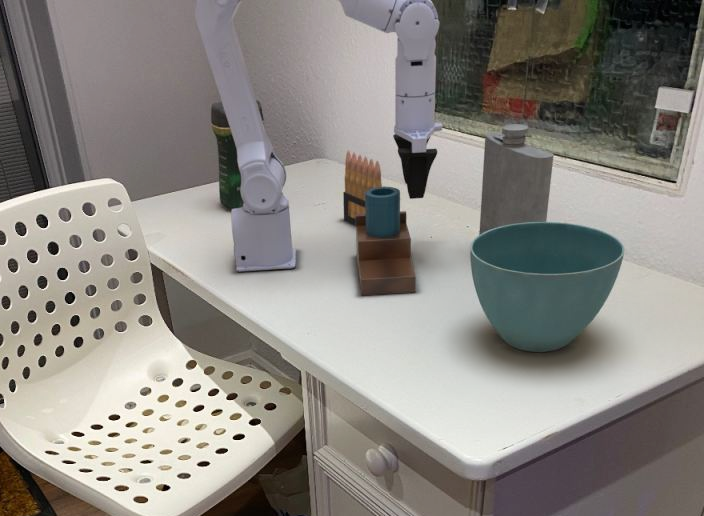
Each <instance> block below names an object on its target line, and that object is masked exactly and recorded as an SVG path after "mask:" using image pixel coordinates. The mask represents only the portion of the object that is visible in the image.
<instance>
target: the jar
mask: <svg viewBox="0 0 704 516" xmlns="http://www.w3.org/2000/svg"><path fill="white" fill-rule="evenodd" d="M365 210H366V233H367V234H368V235H369V236H372V237H391V236H394V235H397V234H398V233H399V232H400V212H401V191H400V189H399V188H396V187H393V186H382V187H376V188H372V189H369V190H367V191H366V192H365Z"/></svg>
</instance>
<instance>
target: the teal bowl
mask: <svg viewBox="0 0 704 516" xmlns="http://www.w3.org/2000/svg"><path fill="white" fill-rule="evenodd" d="M624 255H625V246H624V244H623V242H622V241H620V240H619V238H617V236H614V235H612V234H611V233H609V232H606V231H604V230H601V229H597V228H595V227H590V226H586V225H582V224H575V223H570V222H560V221H558V222H557V221H546V222H527V223H518V224H511V225H505V226H501V227H497V228H494V229H491V230H488V231H486V232H484V233H482V234H480V235H477V236H475V238H474V239H473V240H472V241H471V243H470V249H469V257H470V259H469V260H470V268H471V269H470V270H471V275H472V280H473V286H474V290H475V293H476V295H477V296H476V297H477V299H478V301H479V304H480V306H481V309H482V310H483V313H484V314H485V316H486V318H487V320H488V321H489V323H490V325H491V326H492V328H493V329H494V330H495V331H496V333H497V334H498V335H499V336H500V338H501V339H503V341H504V342H505V343H507V344H508V345H509V346H510V347H512V348H514V349H517V350H520V351H525V352H531V353H533V352H535V353H545V352H546V353H547V352H552V351H556V350H559V349H562V348H563V347H566V345H567V346H568V344H570V343H571V342H572V341H573V340H574V339H575V338H577V337H578V336H579V335H580V334H581V333H582V332H583V331H584V330H585V329H586V328H588V326H589V325H590V324H591V323H592V322H593V320H594V319H595V318H596V317H597V315H598V314H599V312H600V311H601V310H602V308H603V306H604V305H605V303H606V301H607V300H608V298H609V296H610V294H611V292H612V290H613V288H614V285H615V283H616V281H617V278H618V277H619V274H620V273H619V272H620V270H621V268H622V263H623V260H624V259H623V258H624Z"/></svg>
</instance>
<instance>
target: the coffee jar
mask: <svg viewBox="0 0 704 516" xmlns="http://www.w3.org/2000/svg"><path fill="white" fill-rule="evenodd" d="M256 102H257V105H258V108H259V112H260V115H261V119H262V122H263V125H264V126H265V119H264V113H263V107H262V103H261V102H260V101H259V100H257V99H256ZM210 126H211V130H212V132H213V134H214V136H215V139H216V145H217V156H218V190H219V191H218V192H219V202H220V204H221V205H222V206H223V208H224V209H227V210H232V209H234V208H241V207H243V204H244V201H243V199H242V197H241V192H240V187H241V173H240V170H239V166H238V156H237V148H236V145H235V142H234V138H233V135H232V132H231V129H230V126H229V123H228V120H227V116H226V113H225V110H224V107H223V104H222V101H220V102H214V103H212V104H211V108H210Z"/></svg>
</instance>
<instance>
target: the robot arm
mask: <svg viewBox="0 0 704 516" xmlns="http://www.w3.org/2000/svg"><path fill="white" fill-rule="evenodd" d="M242 1H243V0H197V1H196V7H195V13H194V16H195V22H196V25H197V27H198V31H199V34H200V39H201V41H202V44H203V47H204V50H205V54H206V56H207V60H208V63H209V66H210V69H211V73H212V76H213V79H214V82H215V85H216V88H217V91H218V94H219V97H220V102H222V104H223V107H224V110H225V113H226V116H227V120H228V123H229V126H230V129H231V132H232V135H233V138H234V142H235V145H236V148H237V156H238V166H239V170H240V173H241V187H240V192H241V197H242V199H243V201H244V204H243V207H241V208H234V209H231V212H230V220H231V235H232V242H233V255H234V257H235V265H236V272H255V271H269V270H285V269H294V268H295V269H296V261H297V258H296V257H297V249H296V247H293V239H292V227H291V215H290V214H291V213H290V202H289V199H288V198H286V196H285V194H284V193H283V188H284V186H285V183H286V181H287V170H286V167H285V165H284V164H283V162H282V161H281V160H280V159H279V158H278V156H277V155H276V153H275V151H274V147H273V144H272V142H271V140H270V139H269V137H268V135H267V132H266V130H265V124H264V125H263V122H262V119H261V115H260V112H259V108H258V105H257V102H256V100H257V99H256V94H255V92H254V88H253V85H252V82H251V81H252V80H251V78H250V74H249V71H248V68H247V64H246V61H245V58H244V55H243V51H242V47H241V44H240V41H239V37H238V33H237V31H236V26H235V24H234V18H235V15H236V14H237V11H238V9H239V7H240V6H241V3H242ZM337 1H339V3H340V5H341V7H342V10H343V13H344V15H345V17H348V18H351V19H353V20H355V21H357V22H360V23H362V24H364V25H367V26H369V27H371V28H373V29H376V30H378V31H380V32H382V33H385V34H390V33H395V34H396V36H397V38H396V39H397V41H396V43H397V51H396V53H397V55H396V57H395V62H394V63H395V69H394V70H395V77H394V78H395V94H394V95H395V101H394V103H395V107H394V108H395V114H394V115H395V119H394V121H395V122H394V123H395V125H394V126H393V133H394V134H393V135H392V137H393V140H394V141H395V144H396V146H397V154H398V157H399V158H400V163H401V169H402V175H403V180H404V183H405V185H406V188H407V194H408V197H409V199H410V200H416V199H423V198H424V197H425V193H426V189H427V184H428V179H429V175H430V171H431V169H432V165H433V164H434V161H435V159H436V157H437V155H438V149H437V148H427V147H428V142H429V141H430V139H431V137H432V135H434V133H435V132H440V131H443V124H442V123H441V122H435V112H436V111H435V109H436V82H437V81H436V80H437V79H436V76H437V56H436V54H435V53H436V52H435V51H436V48H437V41H436V36H437V34H438V33H439V30H440V29H439V28H440V22H441V21H440V20H439V15H438V11H437V9H436V6H435V5H434V2H432V0H337Z"/></svg>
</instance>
